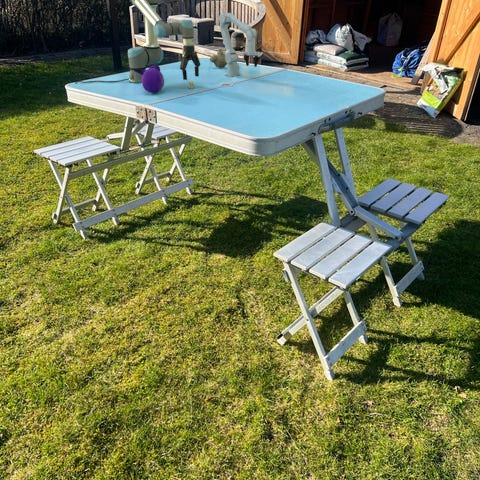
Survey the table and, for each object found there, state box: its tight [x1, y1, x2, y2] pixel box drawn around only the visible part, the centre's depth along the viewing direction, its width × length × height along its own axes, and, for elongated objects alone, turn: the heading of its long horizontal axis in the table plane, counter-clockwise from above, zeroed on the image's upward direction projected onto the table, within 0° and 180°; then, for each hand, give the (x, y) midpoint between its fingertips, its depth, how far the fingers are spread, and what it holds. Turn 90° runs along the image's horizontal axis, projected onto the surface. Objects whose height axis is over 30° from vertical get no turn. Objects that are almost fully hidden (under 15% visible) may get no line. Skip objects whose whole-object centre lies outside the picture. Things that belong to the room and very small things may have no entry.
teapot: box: [209, 48, 227, 69], centre depth 380 cm, size 21×12×15 cm, turn 120°
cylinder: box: [187, 80, 195, 89], centre depth 315 cm, size 4×4×4 cm
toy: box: [134, 64, 165, 94], centre depth 304 cm, size 16×18×27 cm
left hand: (191, 78), depth 314 cm, fingers open, 13 cm apart
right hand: (251, 66), depth 338 cm, fingers open, 7 cm apart
